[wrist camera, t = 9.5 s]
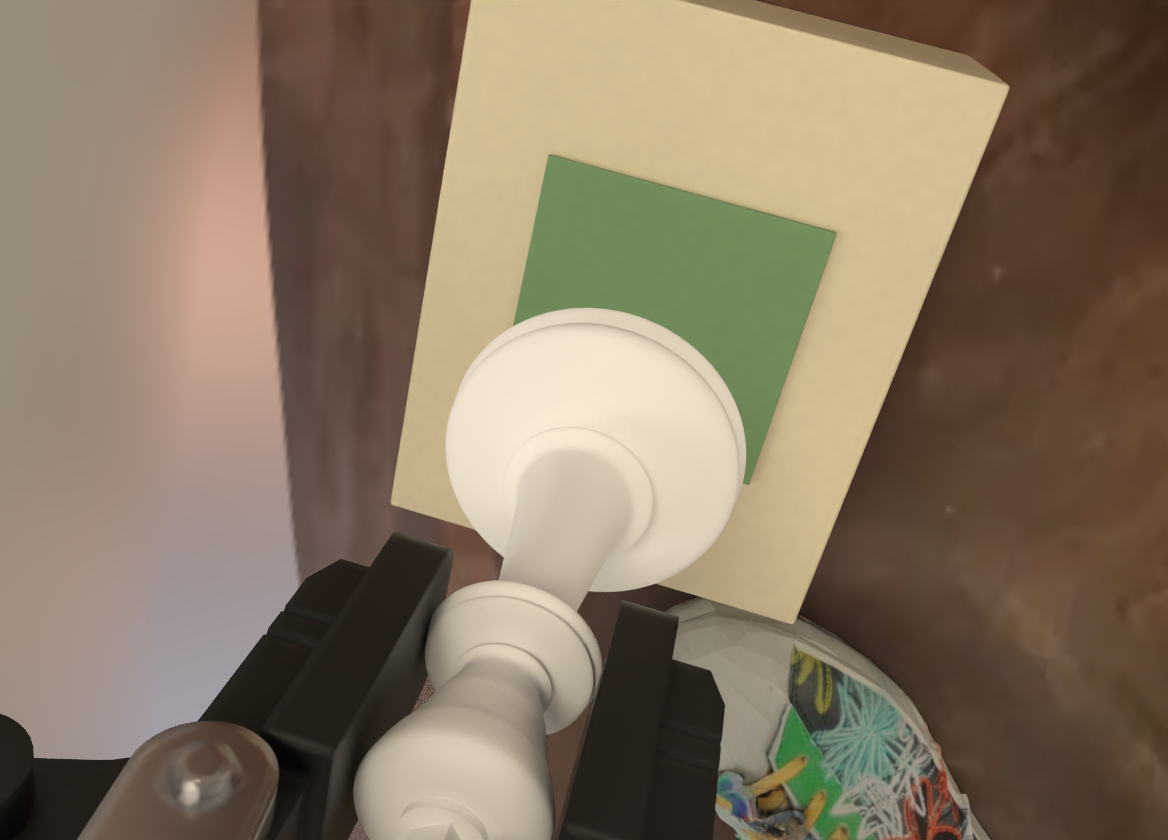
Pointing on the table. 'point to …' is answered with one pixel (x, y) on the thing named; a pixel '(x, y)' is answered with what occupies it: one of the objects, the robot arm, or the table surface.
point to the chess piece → (551, 557)
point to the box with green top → (703, 231)
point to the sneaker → (816, 735)
